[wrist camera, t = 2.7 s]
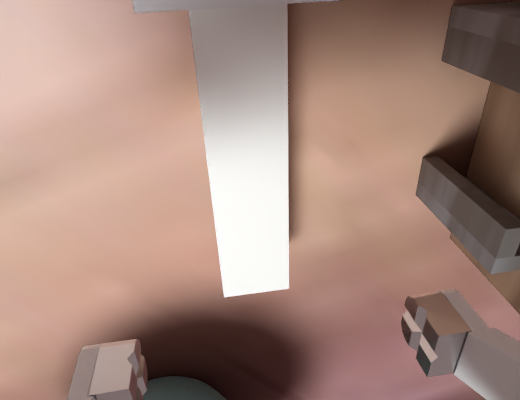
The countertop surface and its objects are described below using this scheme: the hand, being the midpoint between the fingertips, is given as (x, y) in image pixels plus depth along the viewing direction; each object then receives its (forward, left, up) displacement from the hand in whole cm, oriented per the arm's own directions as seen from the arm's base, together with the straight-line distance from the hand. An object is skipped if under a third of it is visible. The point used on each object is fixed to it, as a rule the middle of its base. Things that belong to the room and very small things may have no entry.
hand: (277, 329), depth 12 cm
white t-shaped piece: (0, 0, -14) cm, 14 cm away
